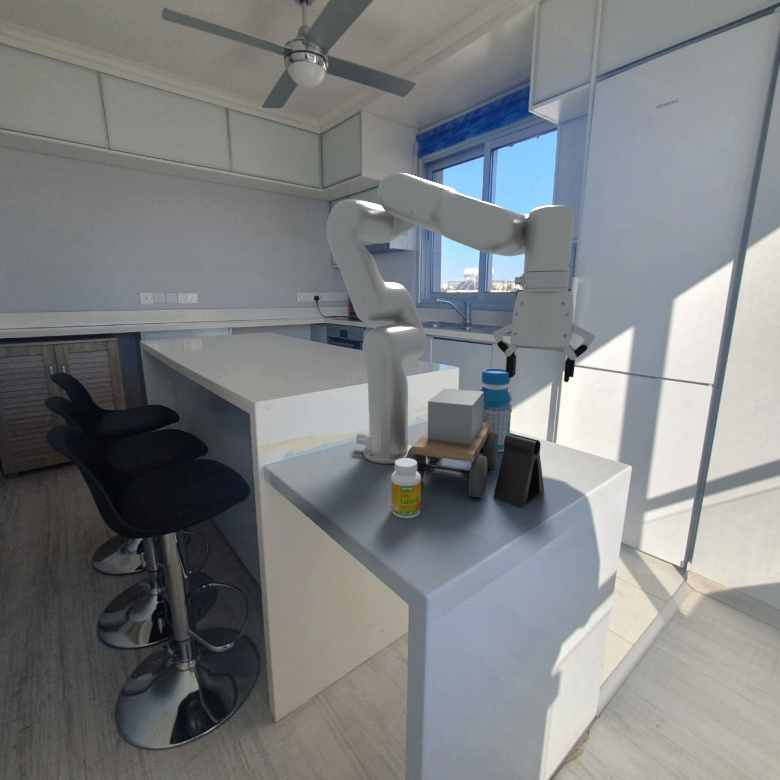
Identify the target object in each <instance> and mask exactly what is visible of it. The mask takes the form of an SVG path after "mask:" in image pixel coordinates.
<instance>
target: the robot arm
mask: <svg viewBox="0 0 780 780" xmlns="http://www.w3.org/2000/svg"><path fill="white" fill-rule="evenodd" d="M377 200H378V203H379V204H377V203H373V202H369V201H367V200H360V199H355V198H354V199H353V198H352V199H350V198H348V199H344V200H341V201H339V202H337V203H335V205H334V206H333V208H331V211H330V213H329V215H328V217H327V218H328V219H327V221H326V222H327V223H326V238H327V243H328V246H329V249H330V252H331V255H332V257H333V259H334V261H335V263H336V264H337V267H338V269H339V272H340V274H341V276H342V279H343V282H344V284H345V285H344V286H345V288H346V290H347V293H348V296H349V299H350V302H351V305H352V307H353V309H354V312H355V314H356V316H357V318H358V319H359V320H360V321H361V322H363V323H366V324H377V323H378V324H379V323H380V324H381V323H386V325H381V326H377V327H374V328H372V329H371V330H369V331H368V333H366V335H365V337H364V339H363V342H362V356H363V359H364V363H365V368H366V376H367V394H368V395H367V396H368V397H367V401H368V426H369V427H368V429H369V430H368V432H369V434H365V433H357V434H356V437H355V438H356V444H357V445H364V446H365V447H364V449H363V456H364V458H365V459H366V460H368V461H370V462H373V463H377V464H382V465H383V464H386V465H387V464H391V465H392V464H395V461H396V460H398V459H401V458H406V456H407V453H408V451H409V449H410V448H411V447H412V446H413V445H411V444H409V386H408V385H409V383H408V379H407V374H406V372H405V369H404V365H403V364H406V363H410V362H414V361H417V360H418V359H420V358H421V357H422V356H423V355H424V353H425V352H426V349H427V336H426V332H425V329H424V327H423V324H422V321H421V319H420V316H419V313H418V310H417V307H416V305H415V302H414V300H413V299H414V298H413V297H412V296H411V293H410V292H409V291H408V290H407V288H406V287H405V286H404V285H402V284H400V283H397V282H394V281H393V282H391V281H385V280H384V279H383V277H382V276H381V273H380V271H379V268H378V265H377V262H376V260H375V259H374V257H373V255H372V254H371V252H370V251H369V250H368V249H367V247H366V246H365V245H364V243H363V242H366V243H375V244H386V243H390V242H392V241H394V240H395V239H398V238H399V237H401V236H402V235H405V234H406V233H408V232H409V231H411V230H412V229H414V228H416V227H418V226H419V227H421V228H423V229H425V230H427V231H430V232H433V233H435V234H436V235H439V236H442V237H444V238H447V239H449V240H451V241H453V242H456V243H457V244H460V245H464V246H466V247H469V248H471V249H473V250H477V251H480V252H481V253H482V252H483V253H486V254H490V255H498V256H504V257H515V256H520V255H522V256H523V255H524V263H523V273H522V274H521V275H520V276H516V277H514V285H519V286H521V288H522V291H517V294H516V297H515V301H514V308H513V312H512V313H513V315H512V320H511V323H509V324H507V325H505V326H503V327H501V328H499V329H497V330H495V331H493V333H492V335H493V338H494V341H495V343H496V344H497V347H498V349H500V350H501V352H503V353H504V355H505V358H506V363H505V369H506V372H509V376H508V377H509V378H510V379H512V378H514V377H515V375H516V371H517V370H516V369H517V354H516V351H517V350H518V349H519V348H521V349H522V348H523V349H538V350H539V349H541V350H542V349H543V350H562V351H563V352H564V354H565V355H566V356H567V358H566V359H565V363H564V375H563V376H564V377H563V382H564V383H569V381H570V378H574V373H575V364H576V359H578V358H579V357H580V356H581V355H582V354H583V353H585V352H586V351H588V349H589V347H590V345H591V344H592V342H594V341H595V338H596V335H595V334H594V333H592V332H591V331H589V330H587V329H584V328H583V327H581V326H579V325H577V324H575V323H574V295H573V294H574V293H573V291H572V290H569V284H570V273H571V272H570V271H571V259H572V247H573V246H572V245H573V238H574V227H575V226H574V225H575V212H574V210H573V208H572V207H570V206H567V205H561V204H553V205H551V204H550V205H544V206H540V207H536V208H533V209H532V210H531V211H529V213H526V214H525V213H520V212H517V211H516V212H515V211H513V210H511V209H508V208H505V207H502V206H499V205H496V204H492V203H490V202H487V201H482V200H480V199H478V198H474V197H471V196H468V195H465V194H463V193H459V192H457V191H456V190H455V189H454V188H452V187H449V186H446V185H442V184H440V183H436V182H433V181H430V180H427V179H424V178H421V177H418V176H415V175H412V174H409V173H405V172H392V173H389V174H387V175H386V176H384V177H383V178H382V179H381V181H380V182H379V185H378V187H377ZM507 333H510V343H511V345H509V344H508V343H507V342H506V340H504V339H505V338H504V335H505V334H507ZM573 334H574V335H575V334H576V335H578V336H579V337H580V338H581V337H582V339H583V341H582V343H581V344H580V345H579V346H577V347H576V348H575V349H574V347H573V346H572V345H571V343H572V339H573Z"/></svg>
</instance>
